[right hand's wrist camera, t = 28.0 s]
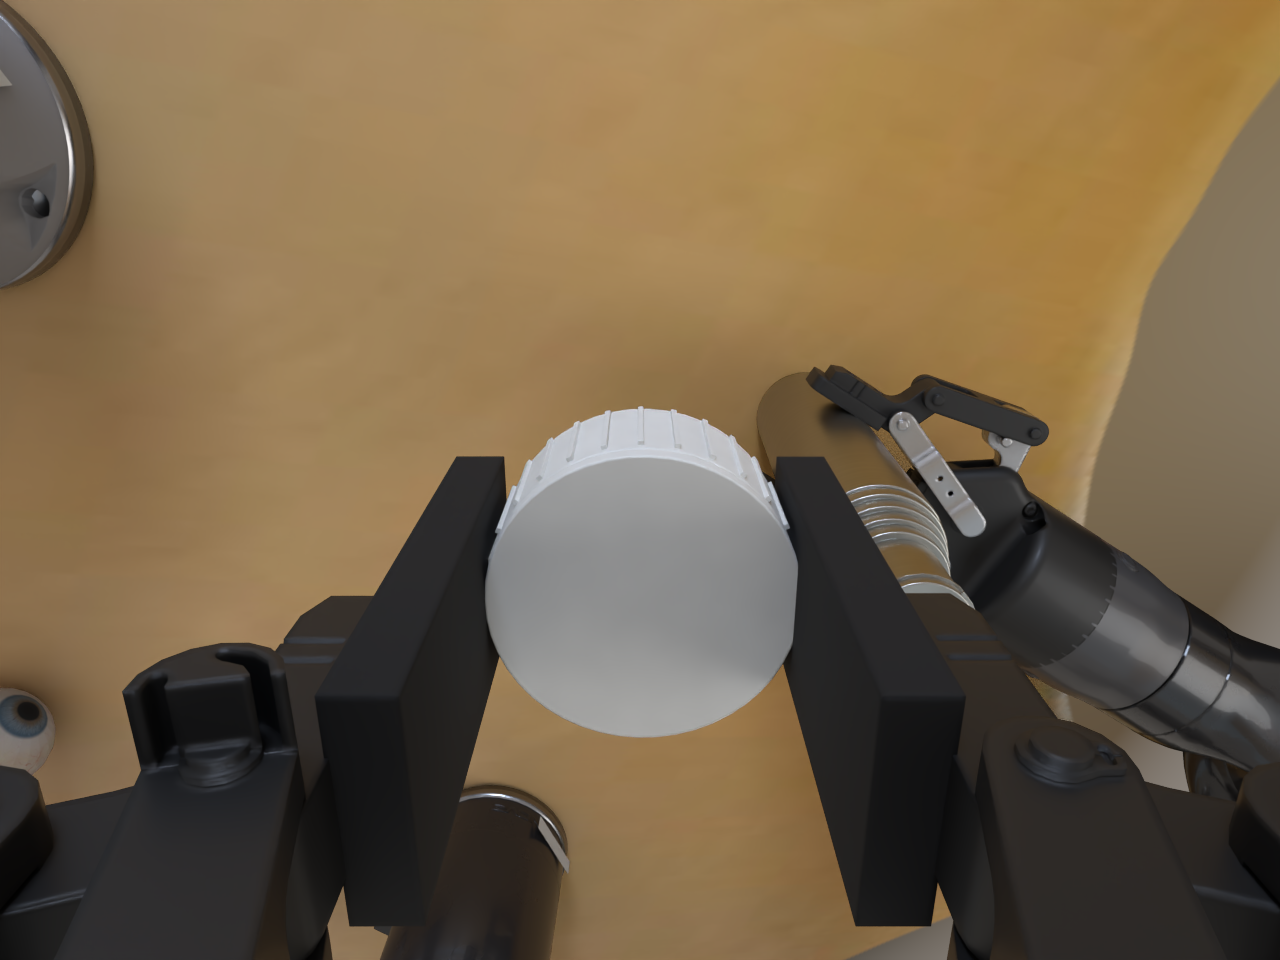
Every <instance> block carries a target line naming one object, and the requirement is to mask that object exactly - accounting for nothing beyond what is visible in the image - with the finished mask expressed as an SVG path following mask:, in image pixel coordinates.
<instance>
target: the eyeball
mask: <svg viewBox="0 0 1280 960" xmlns="http://www.w3.org/2000/svg"><path fill="white" fill-rule="evenodd" d="M55 732H56V728H55V723H54V719H53V716H52V714H51V713H50V711H49V709H48V708H47V706H46V705H45V704H44V703H43V702H42V701H40V700H39V699H38V698H37V697H35V696H33V695H32V694H30V693H28V692H26V691H23V690H19V689H15V688H0V766H7V767H13V768H19V769H25V770H26V771H27V772H29V773H30V774H31V775H32V774H34V773H35V772H36V771H37V770H38V769H39V768H40V767H41V766H42V765H43V764H44V762H45V761H46V759H47V757H48V756H49V754H50V752H51V750H52V748H53V745H54V740H55Z"/></svg>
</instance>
